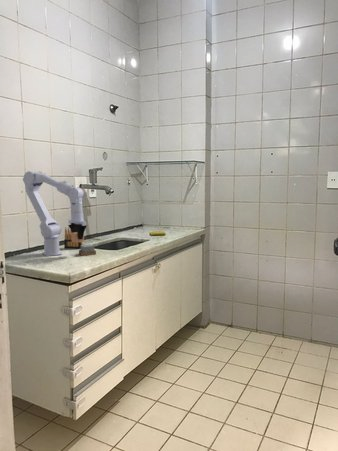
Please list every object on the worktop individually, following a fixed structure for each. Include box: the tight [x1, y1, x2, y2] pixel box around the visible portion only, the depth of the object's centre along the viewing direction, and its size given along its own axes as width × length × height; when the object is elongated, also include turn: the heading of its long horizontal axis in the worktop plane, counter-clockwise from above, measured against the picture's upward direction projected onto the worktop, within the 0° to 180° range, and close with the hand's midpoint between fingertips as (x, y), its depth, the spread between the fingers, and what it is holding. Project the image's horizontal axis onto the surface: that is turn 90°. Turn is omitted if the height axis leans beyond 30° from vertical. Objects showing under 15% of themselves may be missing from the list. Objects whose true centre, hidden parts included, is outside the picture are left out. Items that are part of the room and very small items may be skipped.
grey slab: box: [80, 244, 95, 252], centre depth 195 cm, size 6×6×2 cm
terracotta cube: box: [71, 232, 85, 243], centre depth 190 cm, size 4×4×4 cm
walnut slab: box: [78, 249, 97, 257], centre depth 196 cm, size 7×7×2 cm
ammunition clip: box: [63, 226, 83, 250], centre depth 212 cm, size 11×2×12 cm, turn 74°
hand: (77, 238), depth 191 cm, fingers closed on terracotta cube, 4 cm apart
